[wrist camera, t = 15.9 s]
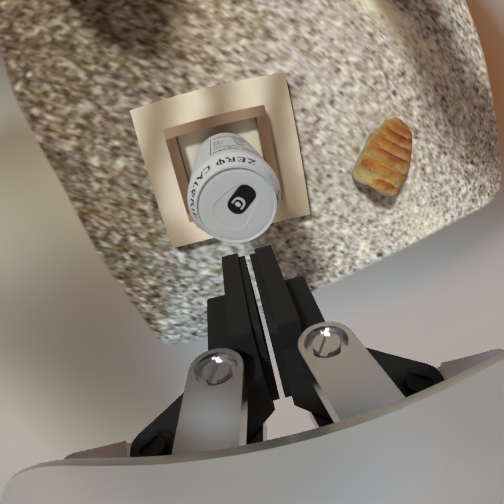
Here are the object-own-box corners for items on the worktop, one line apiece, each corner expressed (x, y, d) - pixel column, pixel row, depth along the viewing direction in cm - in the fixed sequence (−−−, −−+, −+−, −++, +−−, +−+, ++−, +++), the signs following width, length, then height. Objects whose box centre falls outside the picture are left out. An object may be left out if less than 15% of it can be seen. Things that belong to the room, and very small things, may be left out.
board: (282, 73, 30) (288, 71, 27) (307, 210, 37) (314, 219, 35) (132, 110, 29) (126, 111, 27) (173, 243, 37) (171, 254, 34)
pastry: (374, 107, 32) (391, 109, 29) (415, 131, 34) (433, 136, 31) (345, 178, 36) (359, 187, 33) (388, 196, 38) (403, 207, 34)
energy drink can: (184, 167, 32) (166, 219, 19) (218, 120, 30) (225, 135, 17) (231, 198, 34) (247, 268, 21) (265, 153, 32) (307, 195, 19)
